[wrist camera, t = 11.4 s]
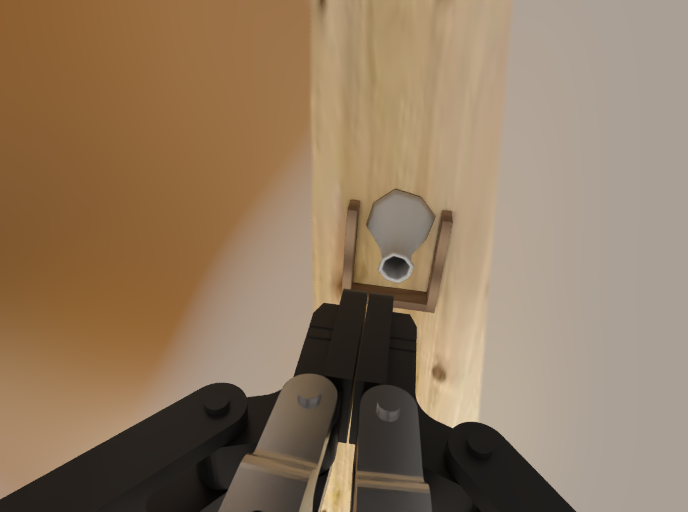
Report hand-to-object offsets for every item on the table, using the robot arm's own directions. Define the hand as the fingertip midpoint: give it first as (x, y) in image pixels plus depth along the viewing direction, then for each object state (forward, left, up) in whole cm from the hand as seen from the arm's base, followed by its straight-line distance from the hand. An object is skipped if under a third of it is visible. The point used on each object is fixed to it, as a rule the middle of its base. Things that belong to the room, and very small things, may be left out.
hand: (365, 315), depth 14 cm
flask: (+16, +1, -37) cm, 41 cm away
